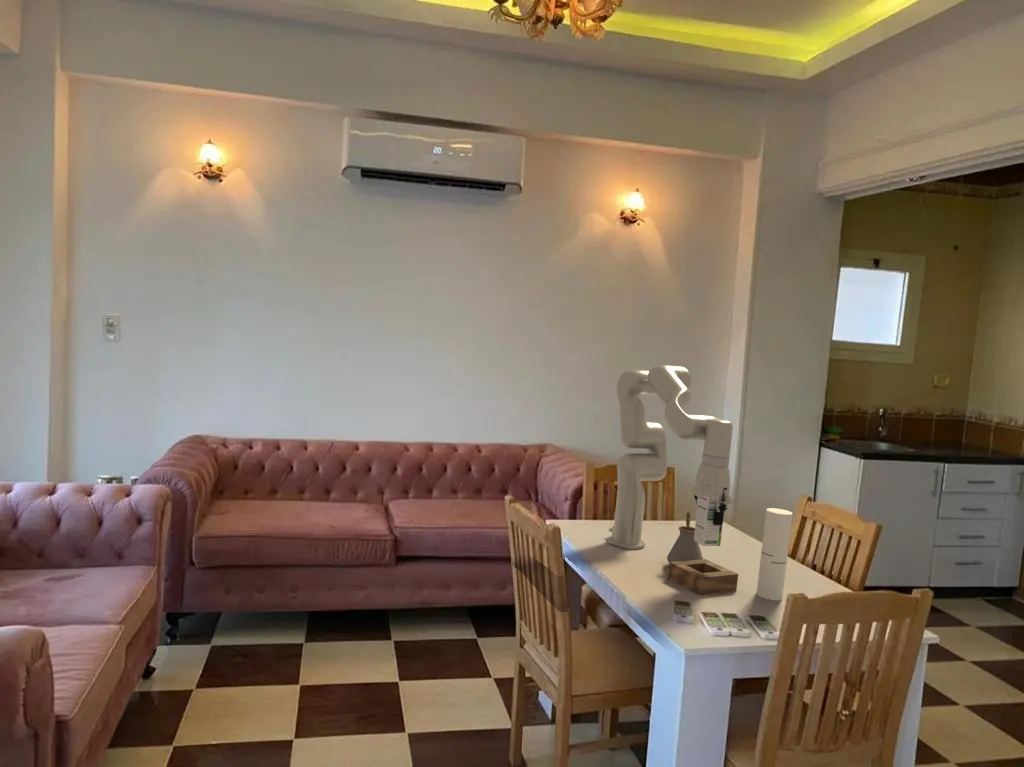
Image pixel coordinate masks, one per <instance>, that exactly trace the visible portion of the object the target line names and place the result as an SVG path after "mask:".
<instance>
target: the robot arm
mask: <svg viewBox="0 0 1024 767" xmlns="http://www.w3.org/2000/svg"><path fill="white" fill-rule="evenodd" d="M691 385H692V376H691V373H690V371H689V370H688V369H687V368H686V367H684V366H680V365H667V364H660V365H655V366H652V367H651V369H650V370H646V369H628V370H626V371H624V372H622V373H621V374H620V376H619V377H618V380H617V383H616V395H617V399H618V403H619V409H620V414H619V415H620V439H621V444H622V445H623V447H624V448H627V449H630V450H631V449H632V450H646V453H645V452H628V453H625V454H622V455H620V457H619V458H618V461H617V463H616V470H617V471H616V472H617V494H616V502H615V503H616V504H615V513H614V523H613V526H612V527H609V528H608V532H610V533H611V536H609V537H608V538H607V542H608V543H609V544H610V545H611V546H614V547H617V548H621V549H626V550H627V549H628V550H639V549H644V548H645V546H646V542H644V540H642V533H643V532H642V531H643V525H644V524H643V523H644V512H645V505H646V504H645V503H646V492H645V489H644V487H643V485H642V482H656V481H661V480H664V478H665V476H666V474H667V471H668V451H667V450H668V449H667V434H666V430H665V428H664V427H663V425H661V424H660V423H659V422H656V421H647V420H646V408H645V405H644V403H643V401H642V400H641V399H640V397H639V396H656V397H659V398H660V400H662V402H663V403H664V404H665V409H664V417H665V422H666V424H667V425H668V427H669V429H671V431H672V432H673V433H674V434H675V435H676V436H677V437H678V438H679V439H682V440H685V441H686V440H687V441H703V442H704V443H703V452H702V455H701V458H702V461H701V463H700V464H699V467H698V469H697V473H696V478H695V483H694V487H693V488H692V489H691V492H692V493H693V496H694V499H695V505H697V502H698V497H700V498H704V496H707V497H709V498H710V499H709V500H710V501H711V502H715V507H716V511H715V512H714V520H713V525H722V526H723V525H724V517H725V516H724V515H725V513H726V511H727V510H728V509H729V508H730V506H732V504H734V503H733V499H732V497H731V496H730V486H731V485H730V484H731V480H730V479H731V477H730V476H731V474H730V468H729V466H730V464H729V463H730V454H731V449H732V448H731V447H732V439H733V438H732V437H733V428H734V426H733V423H732V422H731V421H729V420H726V419H722V418H719V417H715V416H714V415H713V416H712V415H702V414H687V413H686V412H685V411H684V410H683V409H684V408H685V407H686V406H687V405H688V404H689V403H690V401H691V397H692V394H691V391H690V390H689V388H690V387H691ZM721 499H722V500H721ZM720 500H721V501H720ZM724 500H725V501H724ZM719 503H721V506H720V505H719ZM696 513H697V511H696ZM696 513H695V514H696Z"/></svg>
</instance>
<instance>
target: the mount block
mask: <svg viewBox="0 0 1024 767" xmlns="http://www.w3.org/2000/svg"><path fill="white" fill-rule="evenodd" d="M668 565H669V566H668V572H667V573H668V574H667V575H668V576H667V579H669V581H671V582H675V583H676V584H678V585H680V586H682V587H684V588H686V589H688V590H689V591H691V592H693V593H695V594H697V595H699V596H702V595H710V594H720V593H727V592H736V591H737V590H738V589H737V588H738V580H739V573H737V572H735V571H733V570H730V569H728V568H726V567H724V566H721V565H719V564H717V563H715V562H713V561H711V560H708V559H706V558H703V559H700V560H688V561H677V562H670V564H669V563H668Z"/></svg>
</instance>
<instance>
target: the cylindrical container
mask: <svg viewBox="0 0 1024 767" xmlns="http://www.w3.org/2000/svg"><path fill="white" fill-rule="evenodd" d="M793 514H794V513H793V512H792V511H791V510H790V511H789V510H787V509H782V508H777V507H776V508H775V507H770V508H769V507H768V508H766V510H765V519H764V528H763V535H762V536H763V537H762V542H761V543H762V544H761V553H760V559H759V560H760V561H759V570H758V579H757V586H756V596H758V597H760V598H762V599H764V598H765V600H768V599H769V601H781V600H780V599H782V600H783V597H784V596H783V595H784V587H785V579H786V572H787V563H788V562H787V561H788V556H789V555H788V554H789V545H790V538H791V530H792V522H793V521H792V520H793Z"/></svg>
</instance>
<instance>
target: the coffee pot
mask: <svg viewBox="0 0 1024 767" xmlns="http://www.w3.org/2000/svg"><path fill="white" fill-rule="evenodd" d="M684 516H685V517H686V519H685V525H681V526H678V528H677V529H678V530H679V535H678V537H677V539H676V541H675V542H674V544H673V546H672V547H671V549H670V551H669V553H668V554H667V557H666V560H667V563H668V565H669V564H670V562H677V561H688V560H700V559H704V557H703V554H702V551H701V547H700V544H699V543H697V542H696V541H694V534H695V527H692V526H690V524H691V520H690V519H691V517H692V516H693V515H692V513H691V512H690V511H687V512H685V513H684Z"/></svg>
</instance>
